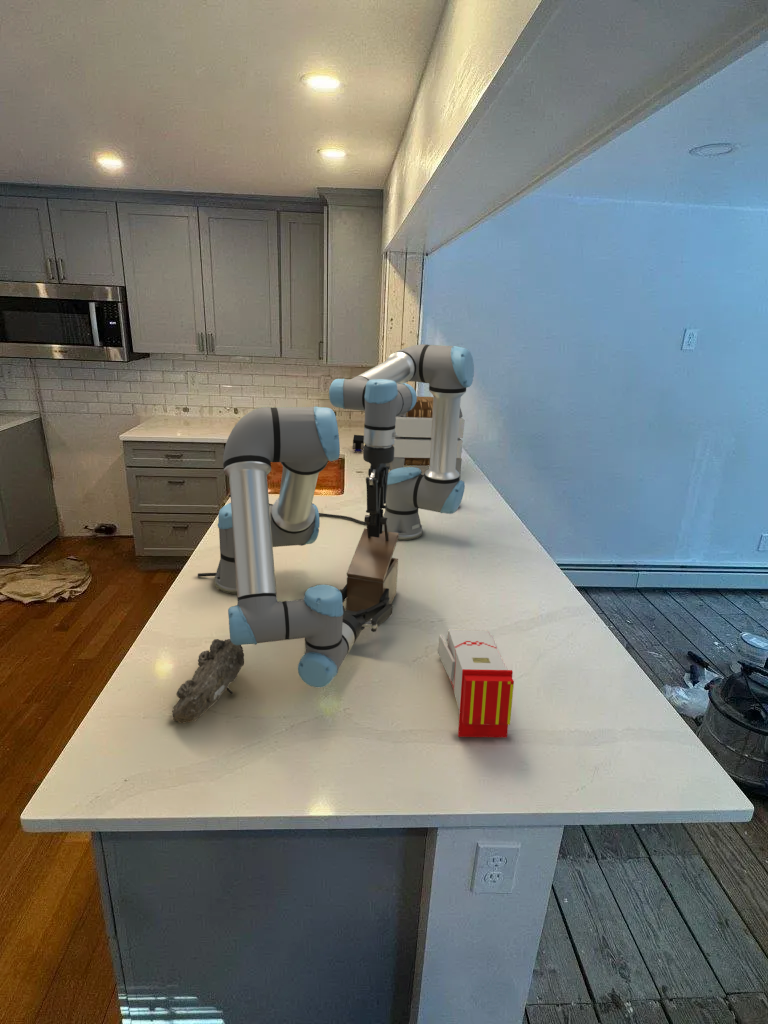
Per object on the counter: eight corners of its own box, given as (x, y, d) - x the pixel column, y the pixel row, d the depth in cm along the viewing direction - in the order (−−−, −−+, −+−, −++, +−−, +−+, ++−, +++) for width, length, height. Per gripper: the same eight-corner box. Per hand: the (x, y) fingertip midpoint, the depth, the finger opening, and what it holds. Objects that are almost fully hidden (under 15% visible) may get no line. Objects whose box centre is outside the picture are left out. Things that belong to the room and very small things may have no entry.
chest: (363, 588, 160) (364, 553, 156) (396, 593, 158) (398, 558, 154) (346, 615, 146) (346, 577, 142) (381, 621, 144) (383, 583, 140)
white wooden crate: (382, 463, 289) (386, 382, 275) (445, 464, 293) (451, 384, 279) (390, 482, 257) (394, 392, 243) (460, 483, 261) (468, 394, 247)
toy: (488, 613, 130) (523, 677, 101) (484, 667, 133) (517, 744, 104) (435, 612, 130) (455, 676, 101) (432, 666, 133) (451, 743, 103)
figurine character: (364, 456, 306) (364, 446, 320) (364, 442, 303) (365, 433, 317) (351, 455, 306) (352, 446, 320) (352, 442, 303) (353, 433, 316)
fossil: (195, 641, 124) (244, 609, 119) (226, 670, 127) (274, 640, 122) (149, 717, 105) (205, 683, 100) (186, 749, 107) (242, 718, 102)
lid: (364, 531, 153) (361, 507, 147) (398, 536, 151) (396, 511, 145) (347, 576, 142) (342, 552, 136) (383, 582, 140) (380, 558, 134)
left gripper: (293, 640, 129) (327, 596, 149) (387, 658, 124) (409, 609, 144) (292, 611, 126) (327, 570, 147) (388, 628, 121) (411, 583, 142)
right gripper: (386, 453, 130) (381, 547, 138) (401, 440, 144) (396, 526, 152) (354, 450, 132) (352, 543, 140) (372, 437, 145) (369, 522, 153)
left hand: (368, 589), depth 146 cm, fingers closed on chest, 9 cm apart
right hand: (375, 534), depth 146 cm, fingers closed on lid, 2 cm apart
